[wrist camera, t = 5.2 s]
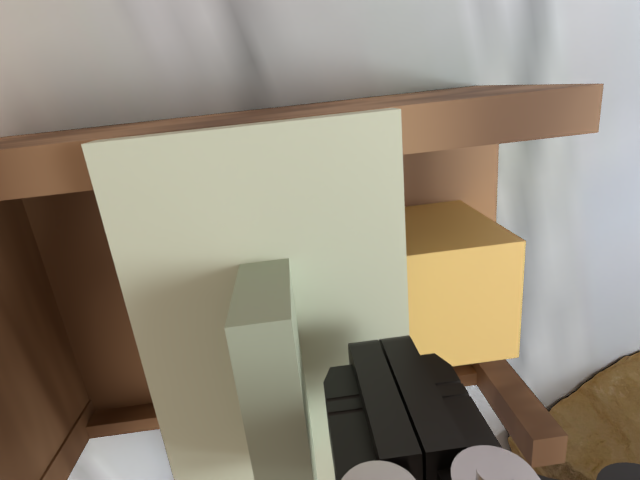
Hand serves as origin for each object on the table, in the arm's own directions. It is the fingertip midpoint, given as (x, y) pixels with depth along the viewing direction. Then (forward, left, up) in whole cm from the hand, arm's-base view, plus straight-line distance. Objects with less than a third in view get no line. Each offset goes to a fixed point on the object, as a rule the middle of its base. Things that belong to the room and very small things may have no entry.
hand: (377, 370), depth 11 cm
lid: (+2, 0, -2) cm, 3 cm away
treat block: (-3, 0, -8) cm, 8 cm away
